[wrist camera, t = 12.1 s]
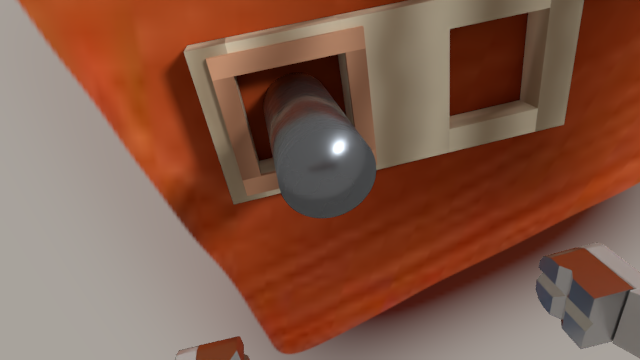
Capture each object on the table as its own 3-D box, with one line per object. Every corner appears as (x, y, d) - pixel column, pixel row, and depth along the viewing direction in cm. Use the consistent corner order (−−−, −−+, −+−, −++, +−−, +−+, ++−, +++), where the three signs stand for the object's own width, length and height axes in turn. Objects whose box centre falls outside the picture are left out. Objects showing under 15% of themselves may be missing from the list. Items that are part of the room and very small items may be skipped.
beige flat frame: (564, -32, 25) (593, -32, 23) (544, 115, 30) (566, 125, 28) (187, 45, 23) (182, 53, 21) (233, 189, 28) (233, 206, 26)
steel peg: (323, 66, 25) (371, 118, 16) (333, 129, 27) (380, 205, 19) (255, 80, 25) (267, 142, 16) (271, 143, 27) (289, 228, 18)
